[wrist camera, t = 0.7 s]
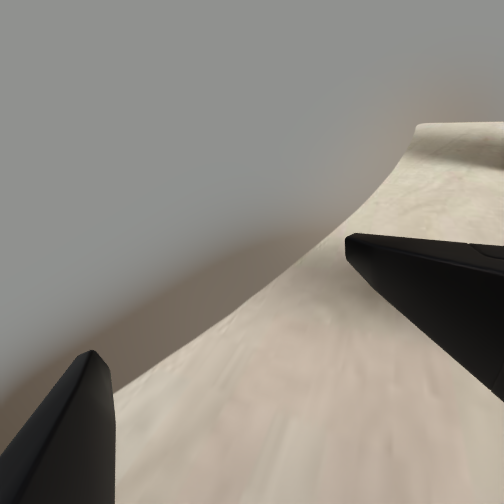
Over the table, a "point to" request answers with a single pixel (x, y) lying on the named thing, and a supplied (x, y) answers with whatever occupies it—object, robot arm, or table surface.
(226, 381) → the table surface
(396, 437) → the table surface
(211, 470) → the table surface
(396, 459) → the table surface
